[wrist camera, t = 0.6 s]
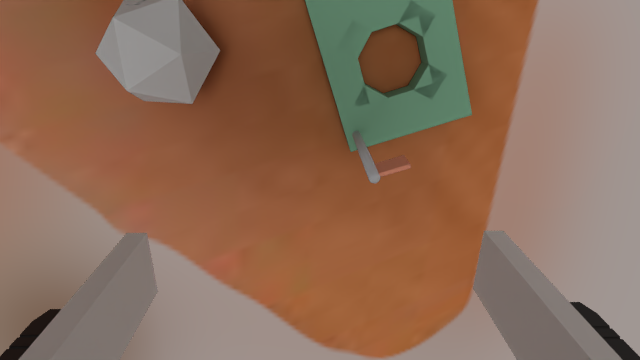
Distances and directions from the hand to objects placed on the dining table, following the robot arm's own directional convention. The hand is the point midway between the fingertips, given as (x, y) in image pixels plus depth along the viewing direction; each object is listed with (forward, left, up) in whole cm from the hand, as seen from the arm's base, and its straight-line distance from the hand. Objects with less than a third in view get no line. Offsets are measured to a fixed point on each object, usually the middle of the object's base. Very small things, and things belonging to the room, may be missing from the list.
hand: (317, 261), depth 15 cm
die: (-10, -10, -26) cm, 30 cm away
